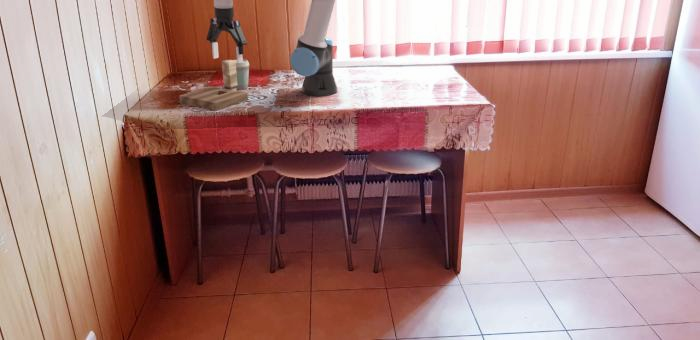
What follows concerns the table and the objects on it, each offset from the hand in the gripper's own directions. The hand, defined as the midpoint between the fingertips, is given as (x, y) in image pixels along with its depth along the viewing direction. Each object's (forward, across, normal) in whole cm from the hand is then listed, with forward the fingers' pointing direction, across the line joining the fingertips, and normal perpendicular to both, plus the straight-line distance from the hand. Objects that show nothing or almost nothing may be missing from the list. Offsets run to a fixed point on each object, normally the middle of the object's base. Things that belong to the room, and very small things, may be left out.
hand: (227, 60), depth 215 cm
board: (+14, -4, +13) cm, 20 cm away
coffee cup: (+14, +3, -10) cm, 18 cm away
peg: (+14, 0, 0) cm, 14 cm away
